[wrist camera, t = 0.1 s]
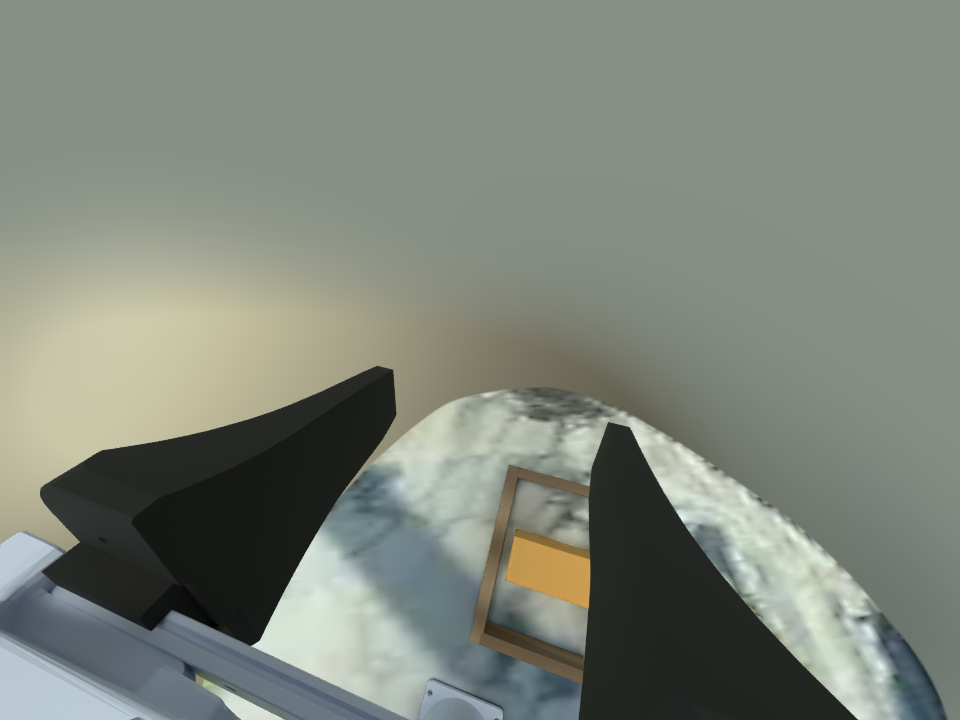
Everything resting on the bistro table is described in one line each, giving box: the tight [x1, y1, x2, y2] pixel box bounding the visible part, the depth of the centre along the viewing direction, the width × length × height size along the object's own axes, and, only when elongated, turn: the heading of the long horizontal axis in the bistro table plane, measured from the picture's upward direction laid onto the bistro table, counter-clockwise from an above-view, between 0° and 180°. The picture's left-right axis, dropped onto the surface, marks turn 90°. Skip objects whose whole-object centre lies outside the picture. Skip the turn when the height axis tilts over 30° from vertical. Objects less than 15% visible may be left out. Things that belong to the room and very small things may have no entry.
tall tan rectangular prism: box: [505, 529, 590, 609], centre depth 36 cm, size 4×9×5 cm, turn 75°
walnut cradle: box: [469, 465, 590, 684], centre depth 37 cm, size 17×11×3 cm, turn 165°
